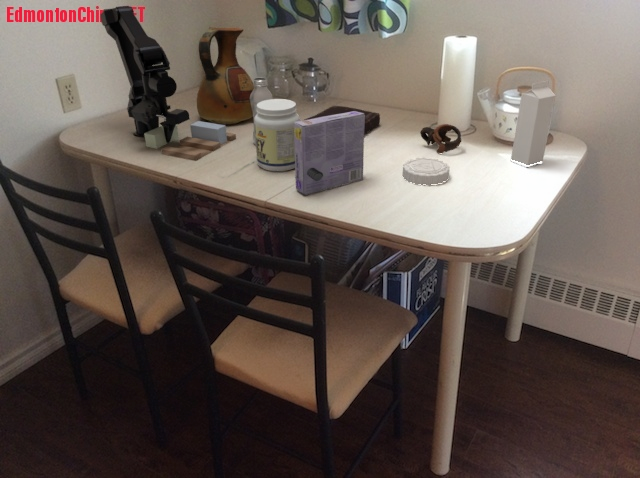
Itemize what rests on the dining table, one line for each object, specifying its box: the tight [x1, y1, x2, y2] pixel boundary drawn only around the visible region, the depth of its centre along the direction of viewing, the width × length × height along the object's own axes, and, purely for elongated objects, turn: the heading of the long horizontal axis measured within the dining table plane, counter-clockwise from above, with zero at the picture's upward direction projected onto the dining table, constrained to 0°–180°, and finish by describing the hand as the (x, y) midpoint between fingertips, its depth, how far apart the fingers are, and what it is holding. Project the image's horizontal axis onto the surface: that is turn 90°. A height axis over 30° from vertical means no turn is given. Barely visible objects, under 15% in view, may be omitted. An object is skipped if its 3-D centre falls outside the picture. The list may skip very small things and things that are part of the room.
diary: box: [301, 105, 381, 136], centre depth 180 cm, size 19×25×5 cm
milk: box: [510, 80, 556, 165], centre depth 151 cm, size 6×6×22 cm
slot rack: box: [161, 131, 237, 162], centre depth 168 cm, size 12×20×2 cm, turn 153°
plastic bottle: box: [250, 77, 274, 146], centre depth 165 cm, size 6×7×20 cm
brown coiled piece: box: [419, 123, 462, 154], centre depth 166 cm, size 12×10×8 cm
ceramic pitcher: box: [196, 26, 255, 125], centre depth 185 cm, size 20×20×30 cm
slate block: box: [189, 120, 227, 145], centre depth 171 cm, size 10×4×5 cm, turn 63°
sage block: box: [144, 124, 180, 149], centre depth 171 cm, size 10×4×5 cm, turn 153°
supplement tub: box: [253, 98, 301, 172], centre depth 154 cm, size 12×12×17 cm
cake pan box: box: [294, 111, 365, 196], centre depth 142 cm, size 19×5×18 cm, turn 123°
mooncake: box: [401, 157, 450, 186], centre depth 149 cm, size 12×12×4 cm
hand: (162, 141), depth 172 cm, fingers closed on sage block, 4 cm apart
